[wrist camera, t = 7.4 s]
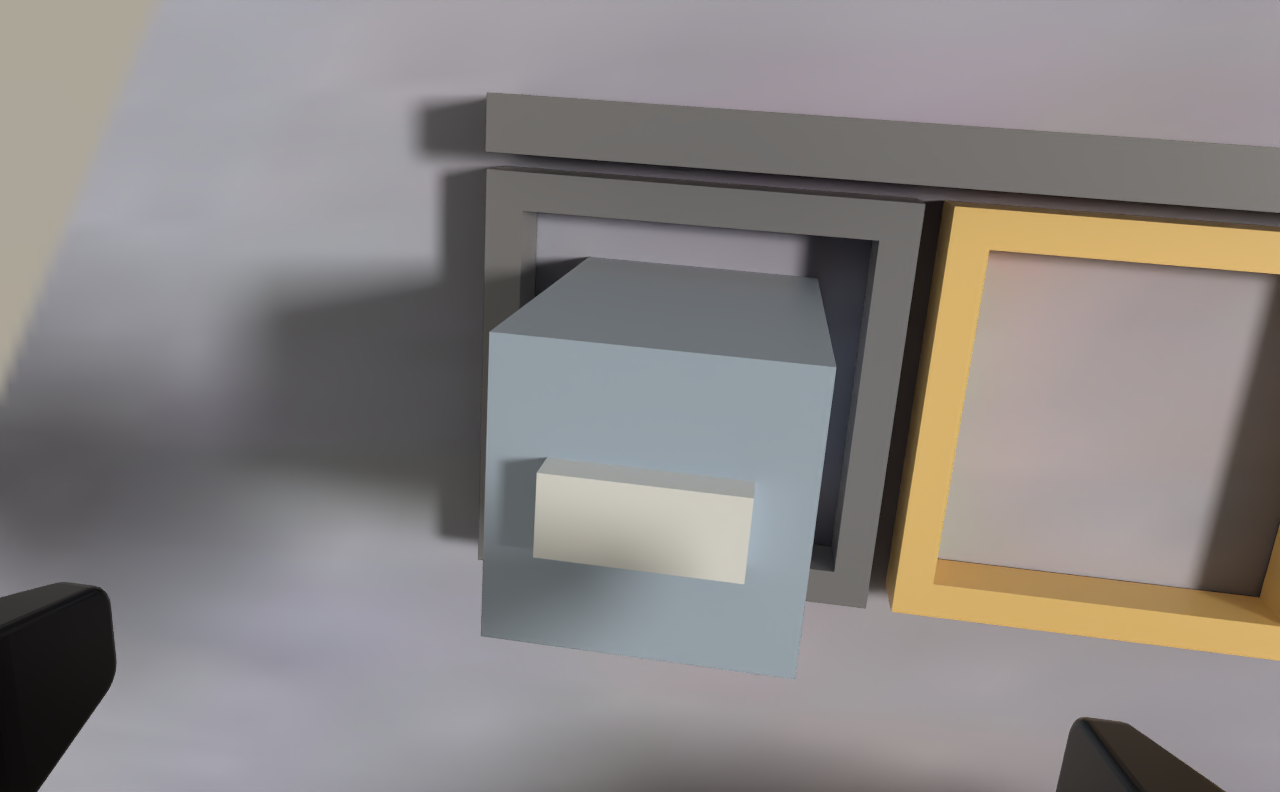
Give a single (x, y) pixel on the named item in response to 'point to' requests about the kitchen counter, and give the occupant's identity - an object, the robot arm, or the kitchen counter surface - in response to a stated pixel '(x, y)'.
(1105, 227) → the cubby shelf with drawer
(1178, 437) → the kitchen counter surface
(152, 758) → the kitchen counter surface
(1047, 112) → the kitchen counter surface
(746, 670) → the blue-grey box
